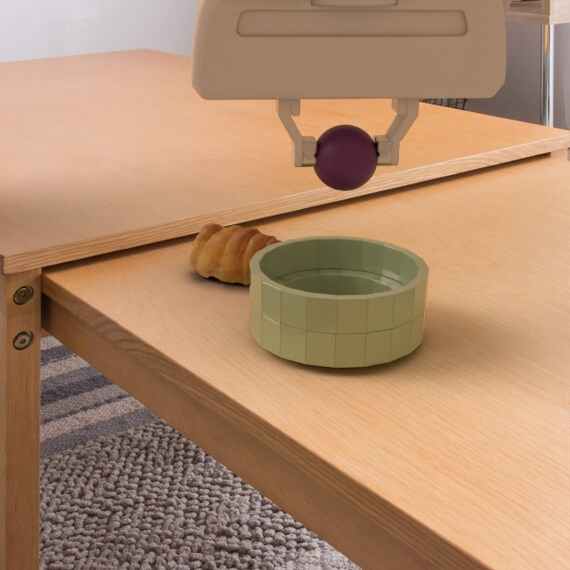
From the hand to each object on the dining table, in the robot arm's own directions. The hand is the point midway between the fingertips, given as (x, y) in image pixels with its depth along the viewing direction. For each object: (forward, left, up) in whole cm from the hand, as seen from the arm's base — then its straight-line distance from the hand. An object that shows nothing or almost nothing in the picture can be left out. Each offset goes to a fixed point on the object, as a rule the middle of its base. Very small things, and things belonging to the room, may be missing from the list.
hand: (344, 164), depth 62 cm
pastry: (-6, +13, -13) cm, 19 cm away
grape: (0, 0, 0) cm, 0 cm away
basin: (0, 0, -13) cm, 13 cm away
